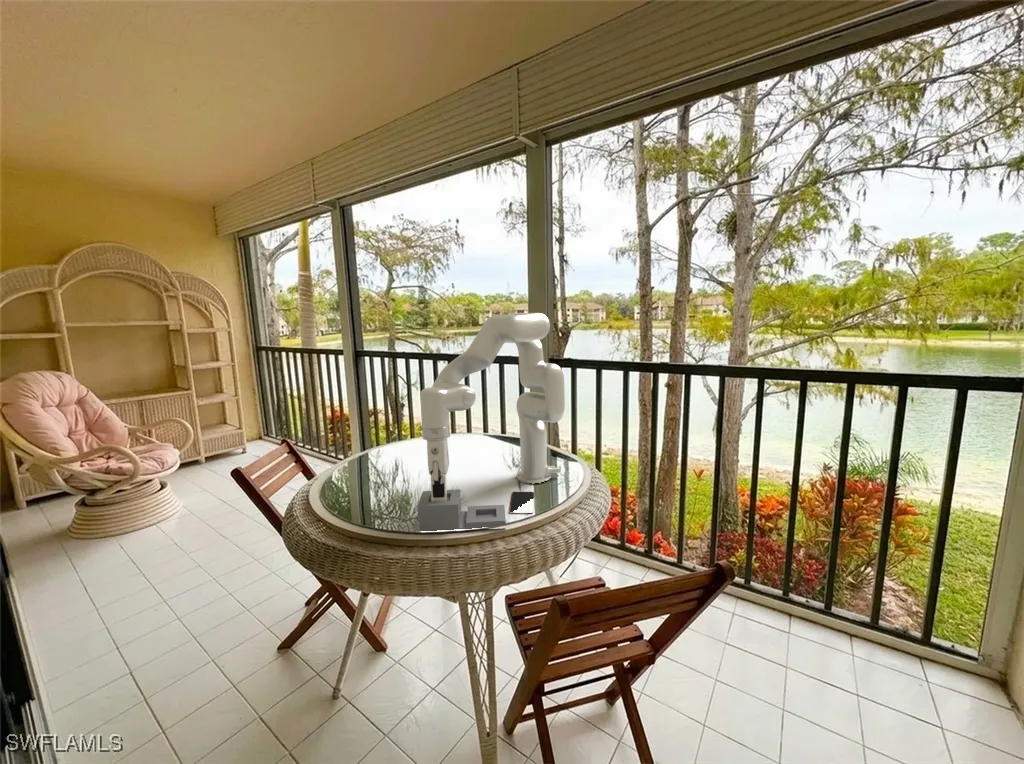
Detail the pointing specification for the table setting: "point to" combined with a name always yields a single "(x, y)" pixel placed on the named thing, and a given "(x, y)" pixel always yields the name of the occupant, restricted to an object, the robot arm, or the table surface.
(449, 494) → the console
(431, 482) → the plug
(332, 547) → the table surface
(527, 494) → the smartphone
